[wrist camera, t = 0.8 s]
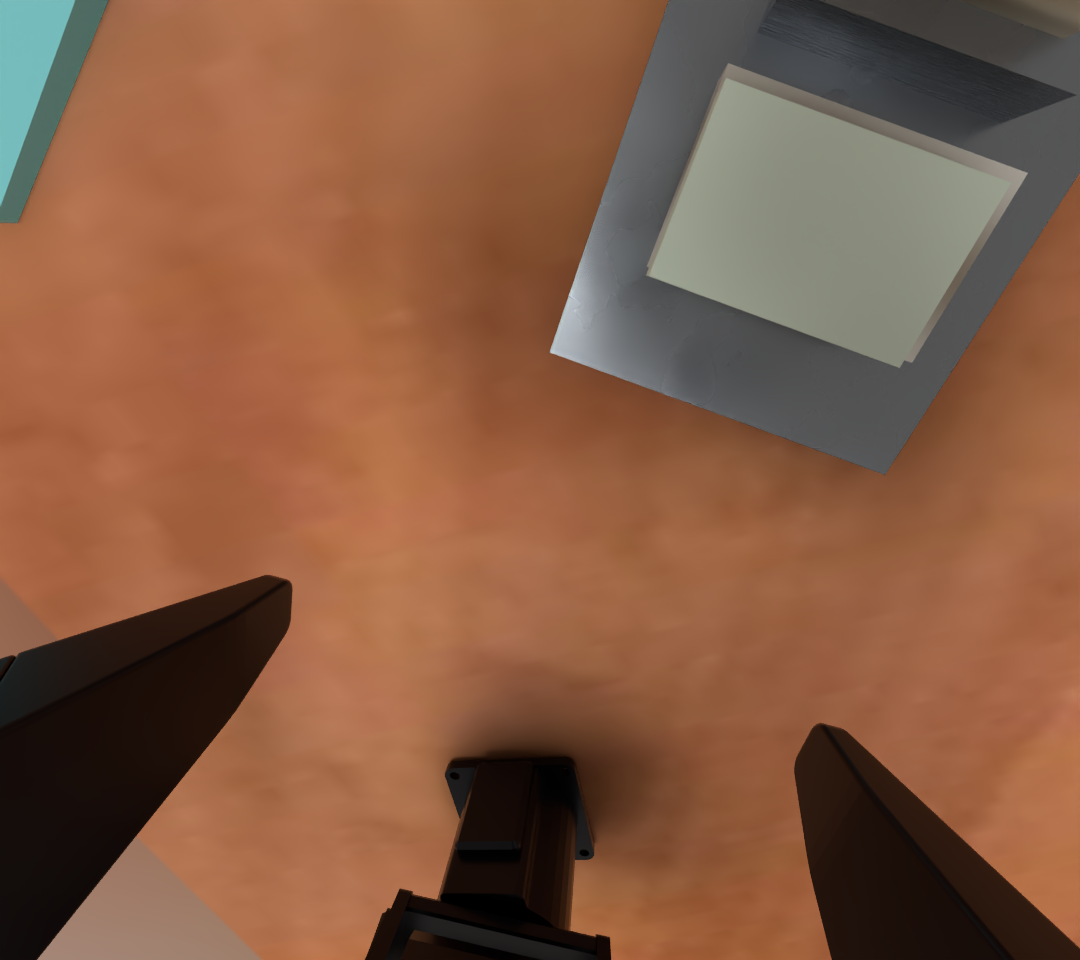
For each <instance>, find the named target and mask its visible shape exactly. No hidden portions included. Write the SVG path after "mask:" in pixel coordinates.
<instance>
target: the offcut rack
mask: <svg viewBox="0 0 1080 960" xmlns="http://www.w3.org/2000/svg"><path fill="white" fill-rule="evenodd" d="M728 63H729V64H732V65H735V66H737V67H740V68H743V69H746V70H748V71H751V72H754V73H757V74H759V75H762V76H765V77H767V78H770V79H773V80H776V81H778V82H781V83H784V84H787V85H789V86H792V87H795V88H797V89H800V90H803V91H806V92H808V93H811V94H814V95H817V96H819V97H822V98H825V99H827V100H830V101H833V102H836V103H838V104H841V105H844V106H847V107H849V108H852V109H855V110H857V111H860V112H863V113H866V114H868V115H871V116H874V117H876V118H879V119H882V120H885V121H887V122H890V123H893V124H896V125H898V126H901V127H904V128H906V129H909V130H912V131H915V132H917V133H920V134H923V135H926V136H928V137H931V138H934V139H936V140H939V141H942V142H945V143H947V144H950V145H953V146H956V147H958V148H961V149H964V150H966V151H969V152H972V153H975V154H977V155H980V156H983V157H985V158H988V159H991V160H994V161H996V162H999V163H1002V164H1005V165H1007V166H1010V167H1013V168H1015V169H1018V170H1021V171H1024V172H1026V173H1028V174H1027V176H1026V177H1025V179H1024V180H1023V182H1022V184H1021V185H1020V187H1019V189H1018V190H1017V192H1016V194H1015V195H1014V197H1013V198H1012V200H1011V202H1010V203H1009V205H1008V207H1007V208H1006V210H1005V212H1004V213H1003V215H1002V216H1001V218H1000V220H999V221H998V223H997V225H996V226H995V228H994V230H993V231H992V233H991V234H990V236H989V238H988V239H987V241H986V243H985V244H984V246H983V248H982V249H981V251H980V252H979V254H978V256H977V257H976V259H975V261H974V262H973V264H972V266H971V267H970V269H969V270H968V272H967V274H966V275H965V277H964V279H963V280H962V282H961V284H960V285H959V287H958V288H957V290H956V292H955V293H954V295H953V297H952V298H951V300H950V302H949V303H948V305H947V306H946V308H945V310H944V311H943V313H942V315H941V316H940V318H939V320H938V321H937V323H936V324H935V326H934V328H933V329H932V331H931V333H930V334H929V336H928V338H927V339H926V341H925V342H924V344H923V346H922V347H921V349H920V351H919V352H918V354H917V356H916V357H915V359H914V360H913V362H912V363H911V362H908V361H905V360H904V362H903V363H902V365H901V367H900V368H899V367H896V366H893V365H890V364H887V363H884V362H882V361H879V360H876V359H873V358H870V357H868V356H865V355H862V354H859V353H857V352H854V351H851V350H849V349H846V348H843V347H840V346H838V345H835V344H832V343H829V342H827V341H824V340H821V339H818V338H816V337H813V336H810V335H808V334H805V333H802V332H799V331H797V330H794V329H791V328H788V327H786V326H783V325H780V324H777V323H775V322H772V321H769V320H767V319H764V318H761V317H758V316H756V315H753V314H750V313H747V312H745V311H742V310H739V309H737V308H734V307H731V306H728V305H726V304H723V303H720V302H717V301H715V300H712V299H709V298H706V297H704V296H701V295H698V294H696V293H693V292H690V291H687V290H685V289H682V288H679V287H676V286H674V285H671V284H668V283H665V282H663V281H660V280H657V279H655V278H652V277H649V276H646V274H647V271H648V269H649V268H648V267H647V264H648V262H649V259H650V257H651V254H652V251H653V249H654V246H655V244H656V241H657V238H658V236H659V233H660V231H661V228H662V225H663V223H664V220H665V218H666V215H667V212H668V210H669V207H670V205H671V202H672V200H673V197H674V194H675V192H676V189H677V187H678V184H679V181H680V179H681V176H682V174H683V171H684V168H685V166H686V163H687V161H688V158H689V155H690V153H691V150H692V148H693V145H694V143H695V140H696V137H697V135H698V132H699V130H700V127H701V124H702V122H703V119H704V117H705V114H706V111H707V109H708V106H709V104H710V101H711V98H712V96H713V93H714V91H715V88H716V85H717V83H718V81H719V79H720V77H721V75H722V74H723V72H724V70H725V68H726V66H727V64H728ZM1079 173H1080V31H1079V32H1077V33H1075V34H1073V35H1071V36H1069V37H1067V38H1065V39H1062V38H1059V37H1057V36H1054V35H1051V34H1049V33H1046V32H1043V31H1040V30H1038V29H1035V28H1032V27H1029V26H1027V25H1024V24H1021V23H1019V22H1016V21H1013V20H1010V19H1008V18H1005V17H1002V16H1000V15H997V14H994V13H991V12H989V11H986V10H983V9H981V8H978V7H975V6H972V5H970V4H967V3H964V2H961V1H959V0H669V1H668V4H667V7H666V10H665V13H664V16H663V19H662V22H661V25H660V28H659V31H658V34H657V37H656V40H655V43H654V46H653V49H652V52H651V55H650V58H649V60H648V63H647V66H646V69H645V72H644V75H643V78H642V81H641V84H640V87H639V90H638V93H637V96H636V99H635V102H634V105H633V108H632V111H631V114H630V117H629V120H628V122H627V125H626V128H625V131H624V134H623V137H622V140H621V143H620V146H619V149H618V152H617V155H616V158H615V161H614V164H613V167H612V170H611V173H610V176H609V179H608V182H607V184H606V187H605V190H604V193H603V196H602V199H601V202H600V205H599V208H598V211H597V214H596V217H595V220H594V223H593V226H592V229H591V232H590V235H589V238H588V241H587V244H586V247H585V249H584V252H583V255H582V258H581V261H580V264H579V267H578V270H577V273H576V276H575V279H574V282H573V285H572V288H571V291H570V294H569V297H568V300H567V303H566V306H565V309H564V311H563V314H562V317H561V320H560V323H559V326H558V329H557V332H556V335H555V338H554V341H553V344H552V347H551V350H550V353H553V354H556V355H558V356H561V357H564V358H567V359H569V360H572V361H575V362H577V363H580V364H583V365H586V366H588V367H591V368H594V369H597V370H599V371H602V372H605V373H608V374H610V375H613V376H616V377H619V378H621V379H624V380H627V381H629V382H632V383H635V384H638V385H640V386H643V387H646V388H649V389H651V390H654V391H657V392H660V393H662V394H665V395H668V396H670V397H673V398H676V399H679V400H681V401H684V402H687V403H690V404H692V405H695V406H698V407H701V408H703V409H706V410H709V411H712V412H714V413H717V414H720V415H722V416H725V417H728V418H731V419H733V420H736V421H739V422H742V423H744V424H747V425H750V426H753V427H755V428H758V429H761V430H763V431H766V432H769V433H772V434H774V435H777V436H780V437H783V438H785V439H788V440H791V441H794V442H796V443H799V444H802V445H805V446H807V447H810V448H813V449H815V450H818V451H821V452H824V453H826V454H829V455H832V456H835V457H837V458H840V459H843V460H846V461H848V462H851V463H854V464H856V465H859V466H862V467H865V468H867V469H870V470H873V471H876V472H878V473H881V474H884V475H885V474H886V472H887V471H888V469H889V468H890V466H891V465H892V463H893V461H894V460H895V458H896V457H897V455H898V454H899V452H900V451H901V449H902V448H903V446H904V444H905V443H906V441H907V440H908V438H909V437H910V435H911V434H912V432H913V430H914V429H915V427H916V426H917V424H918V423H919V421H920V420H921V418H922V416H923V415H924V413H925V412H926V410H927V409H928V407H929V406H930V404H931V403H932V401H933V399H934V398H935V396H936V395H937V393H938V392H939V390H940V389H941V387H942V385H943V384H944V382H945V381H946V379H947V378H948V376H949V375H950V373H951V372H952V370H953V368H954V367H955V365H956V364H957V362H958V361H959V359H960V358H961V356H962V354H963V353H964V351H965V350H966V348H967V347H968V345H969V344H970V342H971V340H972V339H973V337H974V336H975V334H976V333H977V331H978V330H979V328H980V327H981V325H982V323H983V322H984V320H985V319H986V317H987V316H988V314H989V313H990V311H991V309H992V308H993V306H994V305H995V303H996V302H997V300H998V299H999V297H1000V296H1001V294H1002V292H1003V291H1004V289H1005V288H1006V286H1007V285H1008V283H1009V282H1010V280H1011V278H1012V277H1013V275H1014V274H1015V272H1016V271H1017V269H1018V268H1019V266H1020V264H1021V263H1022V261H1023V260H1024V258H1025V257H1026V255H1027V254H1028V252H1029V251H1030V249H1031V247H1032V246H1033V244H1034V243H1035V241H1036V240H1037V238H1038V237H1039V235H1040V233H1041V232H1042V230H1043V229H1044V227H1045V226H1046V224H1047V223H1048V221H1049V220H1050V218H1051V216H1052V215H1053V213H1054V212H1055V210H1056V209H1057V207H1058V206H1059V204H1060V202H1061V201H1062V199H1063V198H1064V196H1065V195H1066V193H1067V192H1068V190H1069V188H1070V187H1071V185H1072V184H1073V182H1074V181H1075V179H1076V178H1077V176H1078V175H1079Z"/></svg>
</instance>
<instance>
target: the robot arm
mask: <svg viewBox="0 0 1080 960" xmlns="http://www.w3.org/2000/svg"><path fill="white" fill-rule="evenodd" d="M291 606H292V584H291V582H290V581H289V580H287V579H283V578H279V577H276V576H272V575H264V576H261V577H258V578H255V579H251V580H248V581H245V582H242V583H239V584H236V585H233V586H229V587H226V588H223V589H220V590H217V591H214V592H210V593H207V594H204V595H201V596H198V597H195V598H191V599H188V600H185V601H182V602H179V603H176V604H172V605H169V606H166V607H163V608H160V609H157V610H153V611H150V612H147V613H144V614H141V615H138V616H134V617H131V618H128V619H125V620H122V621H119V622H115V623H112V624H109V625H106V626H103V627H100V628H96V629H93V630H90V631H87V632H84V633H81V634H77V635H74V636H71V637H68V638H65V639H62V640H58V641H55V642H52V643H49V644H46V645H43V646H39V647H36V648H33V649H30V650H27V651H24V652H21V653H19V654H18V655H17V656H16V657H15V656H13V655H11V656H8V657H4V658H1V659H0V960H37V959H38V958H39V957H40V955H41V954H42V953H43V951H44V950H45V949H46V948H47V947H48V945H49V944H50V943H51V942H52V940H53V939H54V938H55V936H56V935H57V934H58V933H59V932H60V930H61V929H62V928H63V927H64V925H65V924H66V923H67V921H68V920H69V919H70V918H71V917H72V915H73V914H74V913H75V912H76V910H77V909H78V908H79V907H80V905H81V904H82V903H83V902H84V900H85V899H86V898H87V896H88V895H89V894H90V893H91V892H92V890H93V889H94V888H95V887H96V885H97V884H98V883H99V882H100V880H101V879H102V878H103V877H104V875H105V874H106V873H107V872H108V870H109V869H110V868H111V866H112V865H113V864H114V863H115V862H116V860H117V859H118V858H119V857H120V855H121V854H122V853H123V852H124V850H125V849H126V848H127V847H128V845H129V844H130V843H131V842H132V841H133V839H134V838H135V837H136V836H137V834H138V833H139V832H140V831H141V829H142V828H143V827H144V826H145V824H146V823H147V822H148V821H149V819H150V818H151V817H152V816H153V814H154V813H155V812H156V811H157V809H158V808H159V807H160V806H161V804H162V803H163V802H164V801H165V799H166V798H167V797H168V796H169V794H170V793H171V792H172V791H173V789H174V788H175V787H176V786H177V784H178V783H179V782H180V781H181V779H182V778H183V777H184V776H185V774H186V773H187V772H188V771H189V769H190V768H191V767H192V766H193V764H194V763H195V762H196V761H197V759H198V758H199V757H200V756H201V754H202V753H203V752H204V751H205V749H206V748H207V747H208V746H209V744H210V743H211V742H212V741H213V739H214V738H215V737H216V736H217V734H218V733H219V732H220V731H221V729H222V728H223V727H224V726H225V724H226V723H227V722H228V720H229V719H230V718H231V716H232V715H233V714H234V713H235V711H236V710H237V708H238V707H239V705H240V704H241V702H242V701H243V700H244V698H245V696H246V695H247V693H248V692H249V690H250V689H251V687H252V686H253V684H254V683H255V681H256V679H257V678H258V676H259V675H260V673H261V672H262V670H263V669H264V667H265V665H266V664H267V662H268V661H269V659H270V658H271V656H272V655H273V653H274V652H275V650H276V648H277V647H278V645H279V644H280V642H281V641H282V639H283V638H284V636H285V634H286V633H287V630H288V628H289V625H290V621H291ZM563 768H566V769H563ZM794 773H795V780H796V787H797V793H798V800H799V806H800V813H801V819H802V826H803V832H804V839H805V845H806V852H807V858H808V863H809V869H810V874H811V878H812V883H813V887H814V891H815V895H816V899H817V903H818V907H819V911H820V915H821V919H822V923H823V927H824V931H825V934H826V938H827V942H828V946H829V950H830V954H831V958H832V960H1080V948H1079V947H1078V946H1077V945H1076V944H1075V943H1074V942H1073V941H1071V940H1070V939H1069V938H1068V937H1067V936H1066V935H1065V934H1064V933H1063V932H1062V931H1061V930H1060V929H1059V928H1057V927H1056V926H1055V925H1054V924H1053V923H1052V922H1051V921H1050V920H1049V919H1048V918H1047V917H1046V916H1045V915H1043V914H1042V913H1041V912H1040V911H1039V910H1038V909H1037V908H1036V907H1035V906H1034V905H1033V904H1032V903H1031V902H1030V901H1028V900H1027V899H1026V898H1025V897H1024V896H1023V895H1022V894H1021V893H1020V892H1019V891H1018V890H1017V889H1016V888H1014V887H1013V886H1012V885H1011V884H1010V883H1009V882H1008V881H1007V880H1006V879H1005V878H1004V877H1003V876H1002V875H1000V874H999V873H998V872H997V871H996V870H995V869H994V868H993V867H992V866H991V865H990V864H989V863H988V862H987V861H985V860H984V859H983V858H982V857H981V856H980V855H979V854H978V853H977V852H976V851H975V850H974V849H973V848H971V847H970V846H969V845H968V844H967V843H966V842H965V841H964V840H963V839H962V838H961V837H960V836H959V835H957V834H956V833H955V832H954V831H953V830H952V829H951V828H950V827H949V826H948V825H947V824H946V823H945V822H944V821H942V820H941V819H940V818H939V817H938V816H937V815H936V814H935V813H934V812H933V811H932V810H931V809H930V808H928V807H927V806H926V805H925V804H924V803H923V802H922V801H921V800H920V799H919V798H918V797H917V796H916V795H915V794H913V793H912V792H911V791H910V790H909V789H908V788H907V787H906V786H905V785H904V784H903V783H902V782H901V781H899V780H898V779H897V778H896V777H895V776H894V775H893V774H892V773H891V772H890V771H889V770H888V769H887V768H886V767H884V766H883V765H882V764H881V763H880V762H879V761H878V760H877V759H876V758H875V757H874V756H873V755H872V754H870V753H869V752H868V751H867V750H866V749H865V748H864V747H863V746H862V745H861V744H860V743H859V742H858V741H857V740H855V739H854V738H853V737H852V736H851V735H850V734H849V733H848V732H847V731H845V730H844V729H842V728H838V727H834V726H831V725H827V724H823V723H819V724H816V725H815V726H814V727H813V728H812V730H811V731H810V733H809V735H808V737H807V739H806V741H805V743H804V744H803V746H802V748H801V750H800V752H799V754H798V755H797V758H796V761H795V767H794ZM445 777H446V780H447V783H448V786H449V789H450V791H451V794H452V797H453V800H454V803H455V806H456V809H457V812H458V815H459V818H460V821H459V825H458V828H457V832H456V836H455V839H454V843H453V846H452V850H451V853H450V857H449V860H448V864H447V867H446V871H445V874H444V878H443V881H442V885H441V888H440V892H439V896H438V899H437V900H435V899H431V898H427V897H422V896H418V895H414V894H413V891H409V890H404V889H399V892H398V894H397V896H396V899H395V901H394V903H393V905H392V908H391V909H390V908H388V909H387V911H386V912H385V913H382V916H381V919H380V921H379V924H378V927H377V930H376V933H375V935H374V938H373V941H372V943H371V946H370V949H369V951H368V954H367V956H366V958H365V960H611V949H610V937H607V936H602V935H598V934H596V936H595V937H594V936H590V935H586V934H581V933H577V932H573V931H570V925H571V910H572V896H573V881H574V867H575V860H588V859H591V858H592V857H593V856H594V842H593V837H592V833H591V829H590V824H589V820H588V816H587V811H586V807H585V803H584V798H583V794H582V790H581V785H580V781H579V777H578V772H577V768H576V764H575V762H574V761H573V760H572V759H570V758H567V757H555V758H530V759H505V760H480V761H455V762H451V763H449V764H448V766H447V769H446V772H445Z"/></svg>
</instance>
